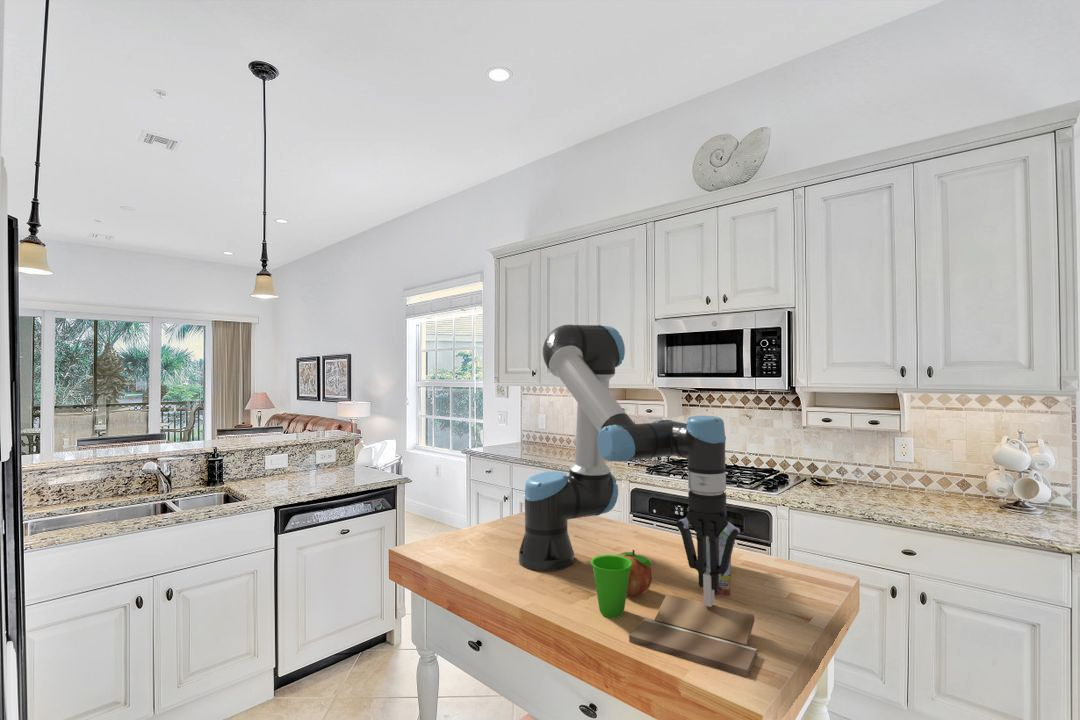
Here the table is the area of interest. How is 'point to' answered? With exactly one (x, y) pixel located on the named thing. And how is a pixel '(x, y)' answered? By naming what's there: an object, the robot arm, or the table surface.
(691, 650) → the floorboard
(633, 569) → the fruit
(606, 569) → the cup
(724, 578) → the snack box
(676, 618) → the plank
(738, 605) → the table surface
